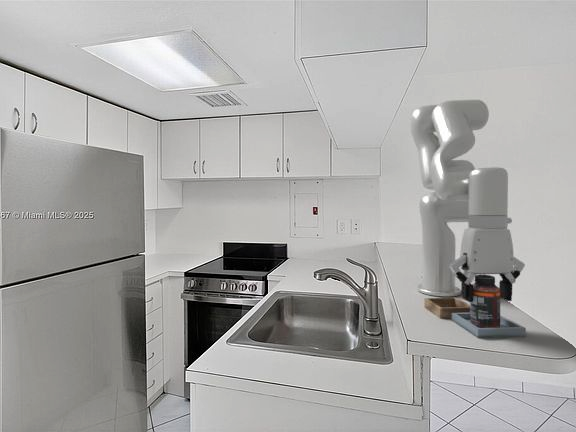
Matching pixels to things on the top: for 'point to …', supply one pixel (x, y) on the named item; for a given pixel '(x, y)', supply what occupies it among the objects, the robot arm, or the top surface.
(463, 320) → the tray
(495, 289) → the supplement bottle
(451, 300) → the holder
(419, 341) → the top surface
